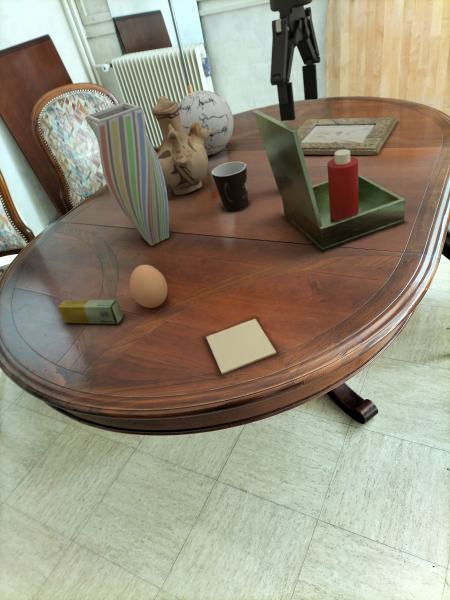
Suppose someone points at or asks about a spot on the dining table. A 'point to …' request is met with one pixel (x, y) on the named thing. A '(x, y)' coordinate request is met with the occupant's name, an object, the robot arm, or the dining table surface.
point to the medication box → (91, 311)
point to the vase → (132, 169)
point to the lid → (288, 165)
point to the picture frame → (345, 135)
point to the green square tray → (371, 219)
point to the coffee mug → (232, 185)
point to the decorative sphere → (208, 118)
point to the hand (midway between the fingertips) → (300, 109)
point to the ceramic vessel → (180, 149)
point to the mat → (240, 346)
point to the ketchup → (343, 185)
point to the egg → (148, 286)
